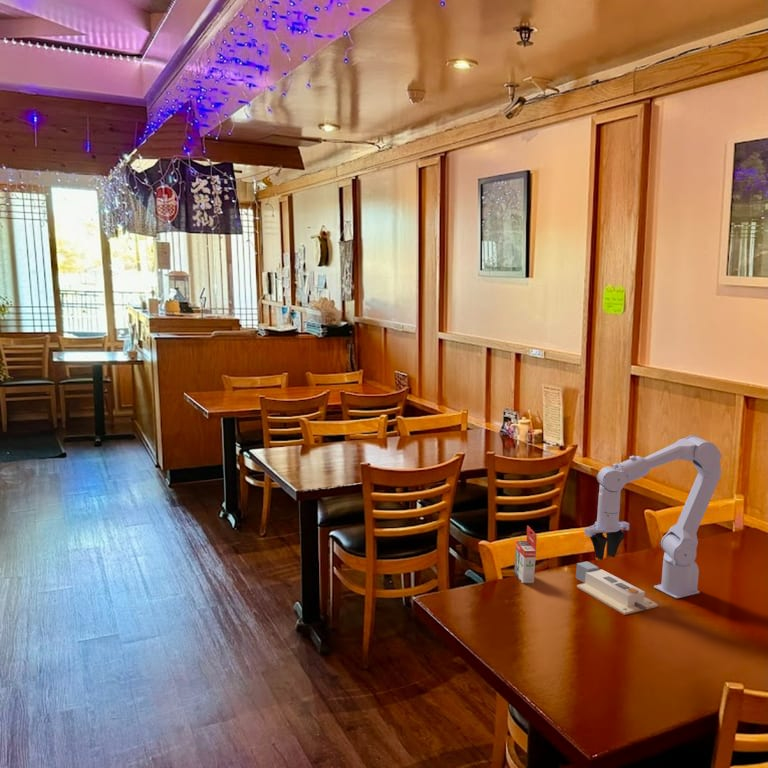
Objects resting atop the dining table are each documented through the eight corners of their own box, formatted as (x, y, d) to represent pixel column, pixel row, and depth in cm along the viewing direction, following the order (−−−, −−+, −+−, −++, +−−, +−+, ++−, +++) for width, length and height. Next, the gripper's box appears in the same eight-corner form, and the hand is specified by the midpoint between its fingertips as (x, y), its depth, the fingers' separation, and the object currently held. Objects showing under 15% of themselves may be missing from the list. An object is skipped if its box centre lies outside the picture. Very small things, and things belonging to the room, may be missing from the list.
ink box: (522, 583, 191) (524, 534, 189) (513, 572, 199) (515, 525, 197) (534, 583, 192) (537, 534, 190) (525, 572, 200) (528, 524, 198)
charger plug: (586, 575, 198) (587, 561, 197) (604, 586, 191) (606, 571, 190) (575, 578, 196) (576, 563, 195) (594, 588, 189) (595, 573, 189)
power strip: (608, 580, 195) (609, 565, 195) (661, 608, 178) (662, 592, 178) (576, 587, 190) (577, 572, 189) (627, 616, 173) (628, 600, 172)
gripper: (617, 503, 193) (614, 548, 195) (578, 509, 186) (575, 555, 188) (636, 510, 186) (632, 557, 188) (596, 517, 180) (593, 565, 182)
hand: (605, 557), depth 188 cm, fingers open, 4 cm apart
